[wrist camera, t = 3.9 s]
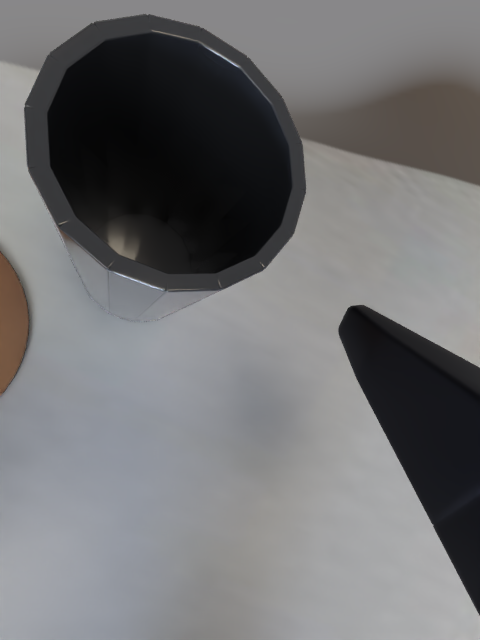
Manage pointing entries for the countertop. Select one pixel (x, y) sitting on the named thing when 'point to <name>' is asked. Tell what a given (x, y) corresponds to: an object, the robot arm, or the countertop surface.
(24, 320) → the trivet
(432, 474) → the robot arm
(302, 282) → the countertop surface
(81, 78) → the grey metal tumbler
